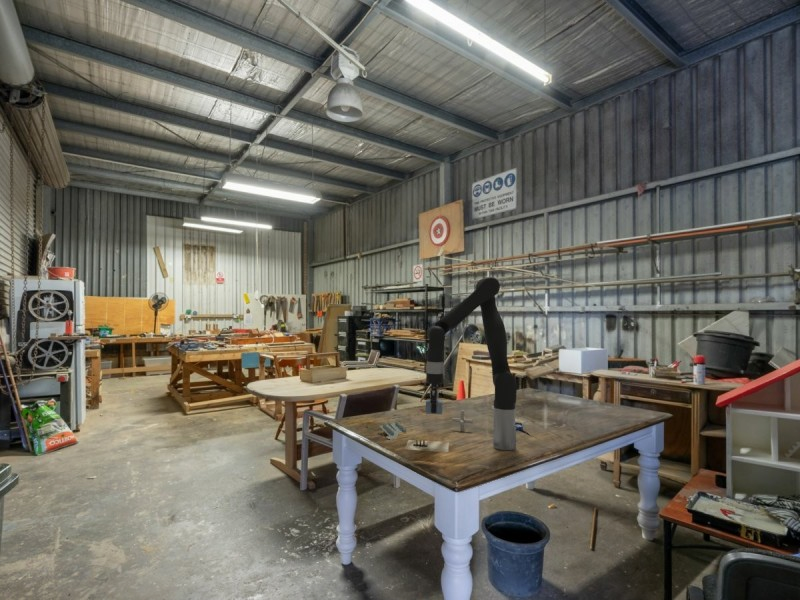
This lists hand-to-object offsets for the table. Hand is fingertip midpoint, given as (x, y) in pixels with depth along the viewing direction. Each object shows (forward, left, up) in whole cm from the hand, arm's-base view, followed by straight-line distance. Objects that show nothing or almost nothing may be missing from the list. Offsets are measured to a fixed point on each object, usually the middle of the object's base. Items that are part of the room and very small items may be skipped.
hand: (434, 411), depth 172 cm
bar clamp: (-44, -29, -16) cm, 55 cm away
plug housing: (0, 0, -1) cm, 1 cm away
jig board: (+3, +1, -16) cm, 16 cm away
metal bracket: (+20, -17, -16) cm, 31 cm away
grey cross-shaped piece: (-12, -29, -16) cm, 35 cm away
